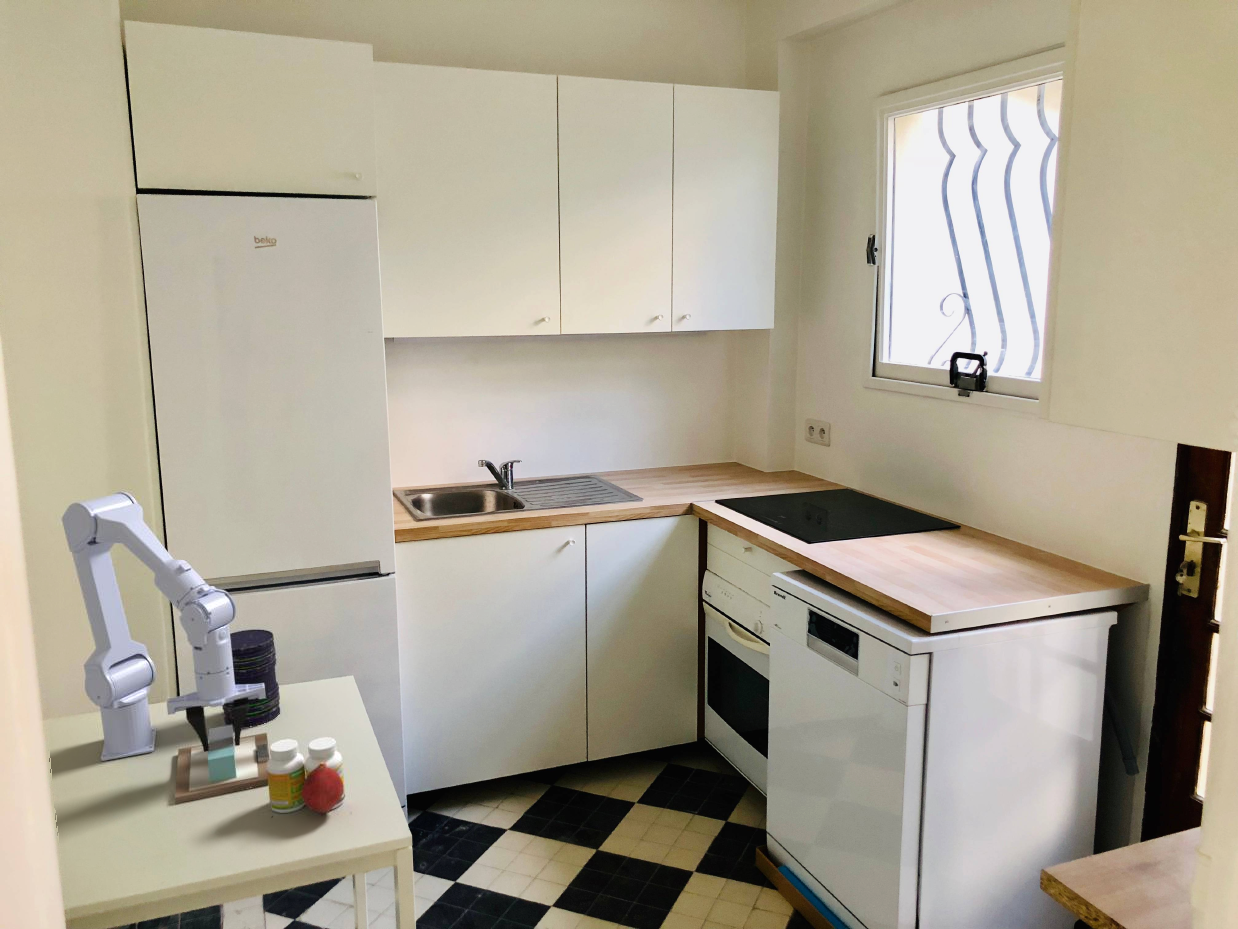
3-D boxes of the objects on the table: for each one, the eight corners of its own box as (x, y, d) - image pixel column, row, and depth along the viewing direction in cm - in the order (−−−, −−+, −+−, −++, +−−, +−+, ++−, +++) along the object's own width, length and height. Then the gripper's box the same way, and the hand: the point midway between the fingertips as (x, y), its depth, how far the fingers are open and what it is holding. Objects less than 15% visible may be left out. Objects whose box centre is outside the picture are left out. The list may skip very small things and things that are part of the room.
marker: (210, 746, 161) (208, 725, 160) (235, 741, 162) (232, 720, 161) (210, 782, 148) (207, 760, 148) (236, 777, 150) (234, 754, 149)
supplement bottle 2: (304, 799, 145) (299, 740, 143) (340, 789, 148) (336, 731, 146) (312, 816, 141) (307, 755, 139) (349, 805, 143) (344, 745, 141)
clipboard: (179, 754, 160) (178, 744, 160) (267, 738, 165) (266, 728, 165) (175, 803, 145) (174, 792, 144) (272, 783, 150) (271, 773, 150)
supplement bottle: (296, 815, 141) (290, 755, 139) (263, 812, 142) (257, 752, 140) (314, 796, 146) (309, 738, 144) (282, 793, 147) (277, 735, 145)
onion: (309, 827, 137) (304, 776, 136) (300, 809, 142) (296, 760, 141) (349, 815, 140) (345, 766, 139) (339, 798, 145) (335, 749, 143)
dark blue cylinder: (286, 702, 180) (279, 627, 177) (274, 725, 170) (267, 647, 167) (231, 706, 178) (223, 631, 175) (216, 730, 169) (208, 651, 166)
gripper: (162, 684, 145) (172, 766, 148) (263, 668, 151) (270, 747, 153) (164, 668, 152) (173, 746, 154) (261, 653, 157) (268, 729, 160)
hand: (221, 746), depth 154 cm, fingers open, 4 cm apart
